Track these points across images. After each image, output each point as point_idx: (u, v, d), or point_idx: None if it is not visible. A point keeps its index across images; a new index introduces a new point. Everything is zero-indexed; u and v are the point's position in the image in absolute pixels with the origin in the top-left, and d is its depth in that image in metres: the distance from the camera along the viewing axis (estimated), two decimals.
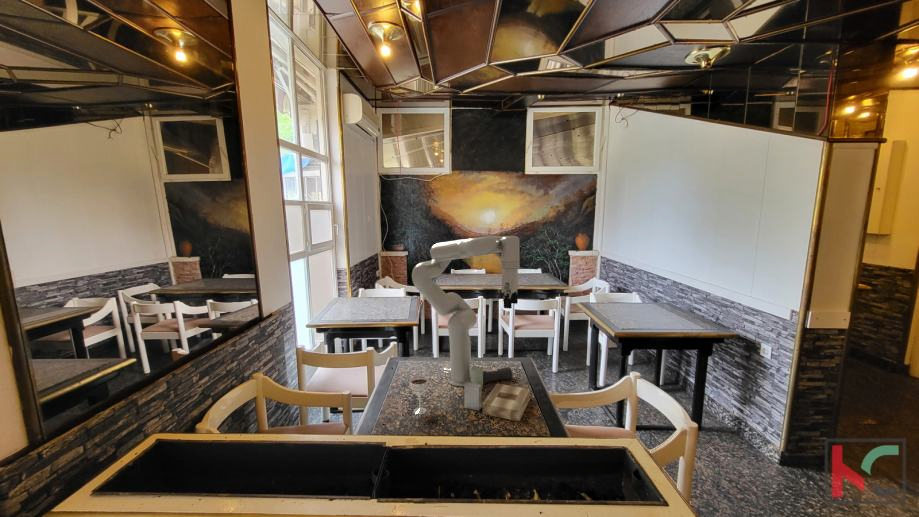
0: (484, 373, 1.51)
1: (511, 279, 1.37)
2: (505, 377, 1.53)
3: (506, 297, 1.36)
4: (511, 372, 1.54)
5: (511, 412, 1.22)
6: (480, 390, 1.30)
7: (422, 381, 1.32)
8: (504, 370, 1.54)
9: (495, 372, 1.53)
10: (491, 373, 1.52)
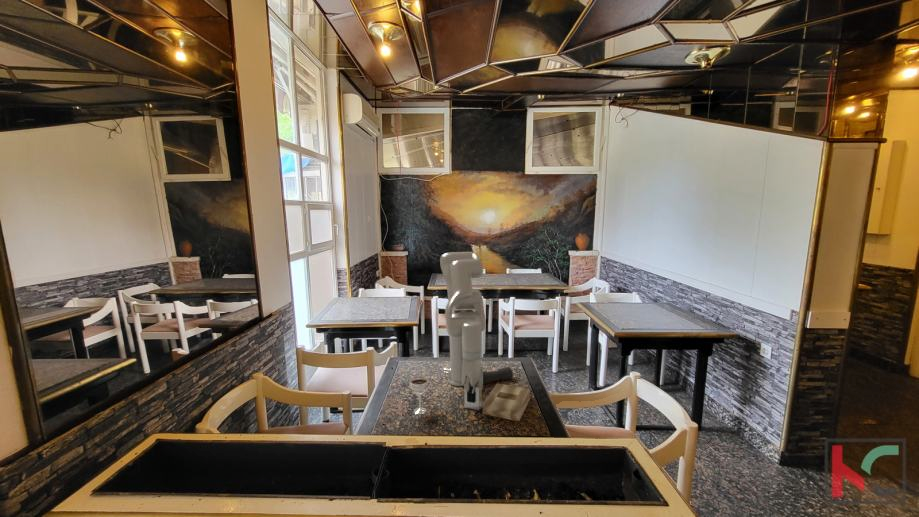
0: (485, 373, 1.51)
1: (471, 372, 1.25)
2: (506, 377, 1.53)
3: (469, 392, 1.28)
4: (511, 372, 1.54)
5: (511, 412, 1.22)
6: (480, 390, 1.30)
7: (422, 381, 1.32)
8: (504, 370, 1.54)
9: (496, 372, 1.53)
10: (492, 373, 1.52)
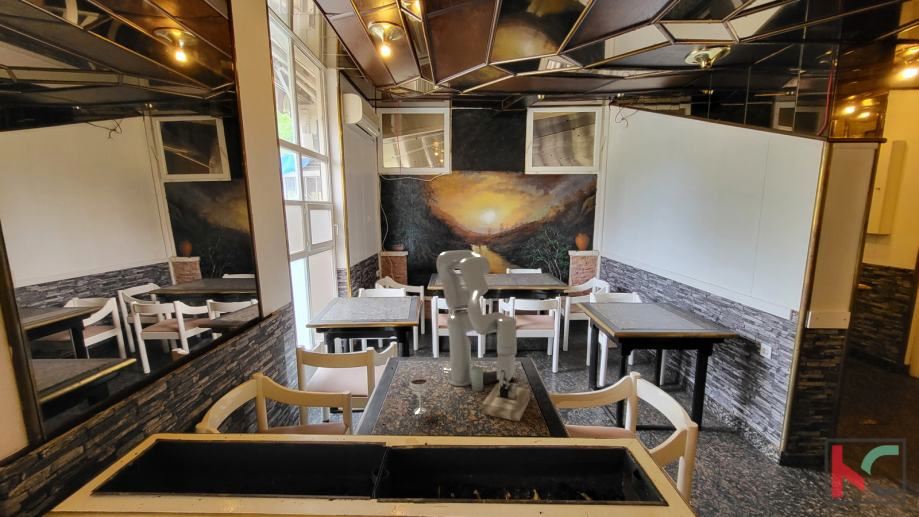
0: (486, 374, 1.51)
1: (507, 367, 1.26)
2: None
3: (502, 387, 1.26)
4: None
5: (511, 412, 1.22)
6: (514, 389, 1.31)
7: (422, 381, 1.32)
8: None
9: (496, 372, 1.53)
10: (493, 373, 1.52)
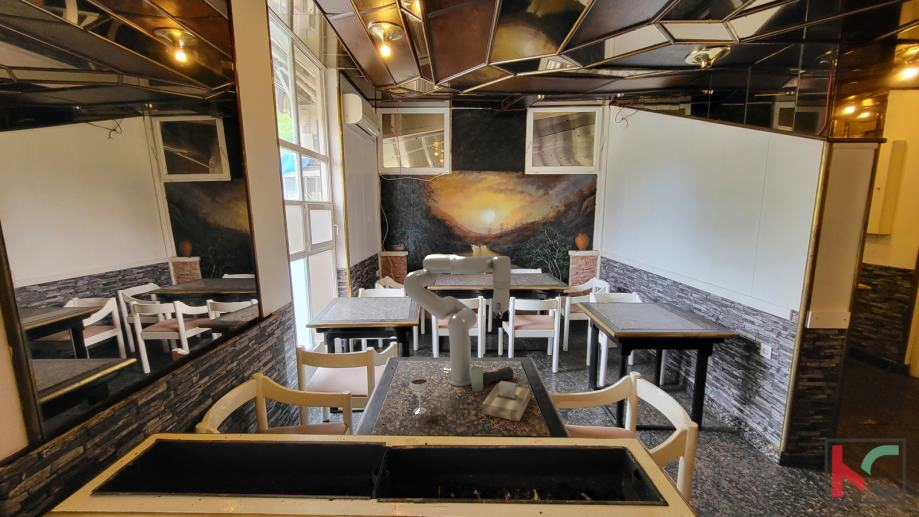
0: (487, 374, 1.50)
1: (502, 299, 1.39)
2: (507, 376, 1.54)
3: (497, 317, 1.39)
4: (512, 371, 1.55)
5: (511, 412, 1.22)
6: (514, 389, 1.31)
7: (422, 381, 1.32)
8: (505, 370, 1.55)
9: (497, 372, 1.53)
10: (493, 373, 1.52)
